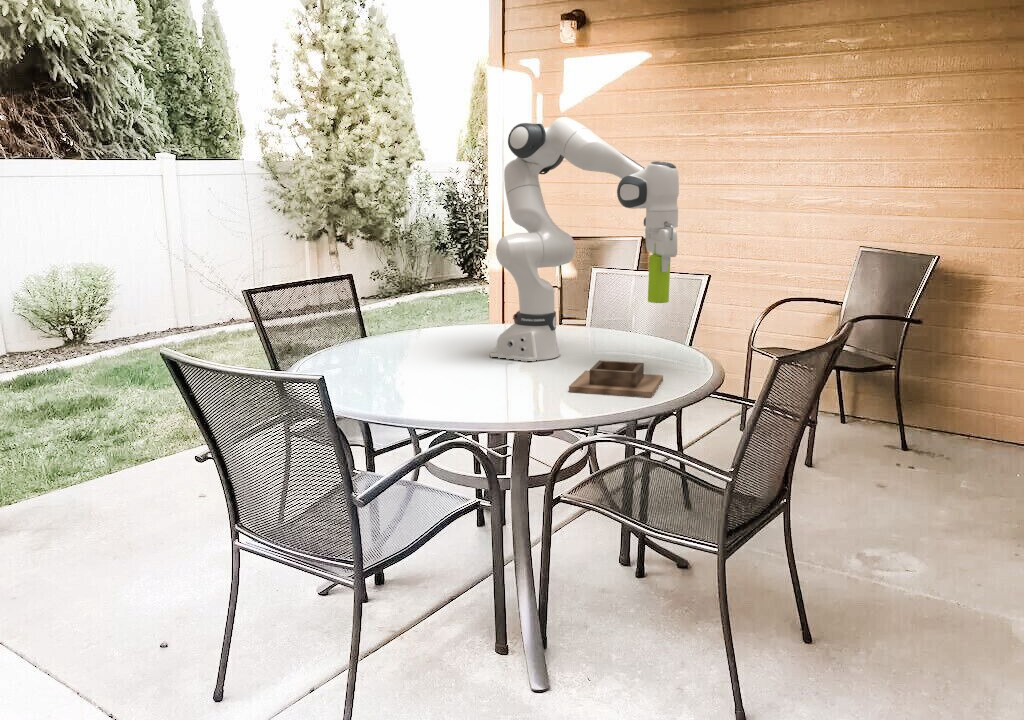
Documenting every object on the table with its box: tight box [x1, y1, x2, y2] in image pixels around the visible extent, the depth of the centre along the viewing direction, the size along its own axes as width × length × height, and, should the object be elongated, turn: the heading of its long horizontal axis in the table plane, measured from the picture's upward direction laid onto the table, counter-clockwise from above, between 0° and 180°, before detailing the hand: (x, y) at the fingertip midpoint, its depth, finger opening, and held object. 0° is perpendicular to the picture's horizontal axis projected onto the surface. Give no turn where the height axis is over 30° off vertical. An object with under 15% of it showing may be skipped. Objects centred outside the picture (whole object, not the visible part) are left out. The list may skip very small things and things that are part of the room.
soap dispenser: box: [647, 243, 672, 304], centre depth 221 cm, size 6×7×20 cm
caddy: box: [568, 359, 664, 398], centre depth 210 cm, size 22×18×6 cm
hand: (660, 270), depth 222 cm, fingers closed on soap dispenser, 6 cm apart
